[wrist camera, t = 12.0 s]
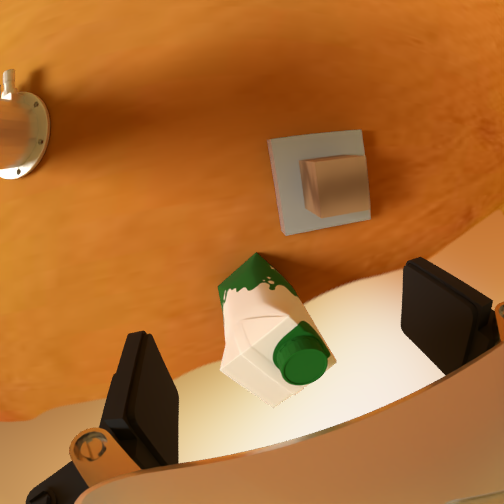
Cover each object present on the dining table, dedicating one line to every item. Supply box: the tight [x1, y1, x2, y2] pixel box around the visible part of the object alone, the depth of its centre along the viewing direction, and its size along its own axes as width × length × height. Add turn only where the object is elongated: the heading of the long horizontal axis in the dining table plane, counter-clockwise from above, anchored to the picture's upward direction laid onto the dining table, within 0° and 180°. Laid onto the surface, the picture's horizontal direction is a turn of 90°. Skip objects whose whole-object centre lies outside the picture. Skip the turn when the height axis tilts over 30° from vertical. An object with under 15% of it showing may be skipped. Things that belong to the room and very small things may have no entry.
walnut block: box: [298, 155, 371, 218], centre depth 34 cm, size 6×6×6 cm
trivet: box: [267, 130, 371, 236], centre depth 38 cm, size 12×12×2 cm
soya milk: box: [218, 252, 336, 407], centre depth 33 cm, size 9×9×20 cm
